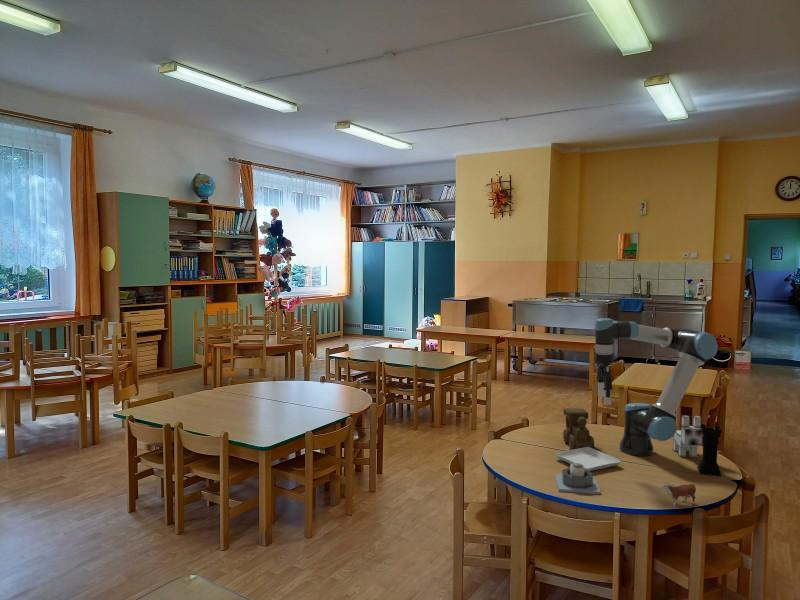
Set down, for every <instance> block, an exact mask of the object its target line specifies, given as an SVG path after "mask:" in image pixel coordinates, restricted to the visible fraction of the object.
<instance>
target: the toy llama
mask: <svg viewBox="0 0 800 600" xmlns="http://www.w3.org/2000/svg"><path fill="white" fill-rule="evenodd" d="M701 424H702V417H701V416H700V415H693V417H692V425H690V416H689V415H684V414H682V415H681V427H680V429H677V430H676V433H675V434H674V436H673V437H672V438H673V439H672V451H673V452H675V453H676V452H677V453H678V454H677V455H678V457H680V458H686V456H687V453H688V455H689V456H688V457H690V458H693V459H694V458H695V459H696V458H698V447H699V446H702V447H703V439H702V437H703V433H702V432H701V427H700V425H701Z"/></svg>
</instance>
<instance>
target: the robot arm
mask: <svg viewBox="0 0 800 600" xmlns="http://www.w3.org/2000/svg"><path fill="white" fill-rule="evenodd" d="M594 331H595V332H594V333H595V334H594V335H595V336H594V339H595V341H594V342H595V344H594V346H593V348H594V349H595V351H594V352H595V355H594V358H595V360H594V361H595V362H596V363H597V370H596V371H597V372H596V380H597V397H599V398H600V397H603V404H604V405H610V406H611V405H612V390H613V383H612V372H611V369H612V368H611V366H609V364H612V363H613V362H614V354H613V353H614V340H633V341H639V342H645V343H650V344H656V345H659V346H661V348H666V349H670V350H672V351H673V350H674V351H676V352H678V356H679V359H678V361H677V363H676V365H675V367H674V369H673V371H672V373H671V375H670V376H669V378H668V380H667V381H666V384H665V386H664V388H663V389H662V392H661V393H660V394H659V397H658V399H657V401H656V403H653V404H650V403H643V402H633V403H632V402H631V403H630V402H629V403H627V404H626V405H625V407H624V428H623V435H622V438H621V440H620V442H619V450H620V451H621V452H622V453H625V454H628V455H632V456H640V457H641V456H643V457H644V456H648V457H649V456H652V455H653V454H654V445H653V442H652V439H653V440H657V441H660V442H666V441H668V440H670V439H672V438H673V436H674V434H675V433H676V430H678V429H677V428H678V427H677V422H676V419H677V417H678V416H677V413H676V412H677V409H678V407H679V406H680V404H681V401H682V400H683V397H684V396H685V394H686V392H687V390H688V388H689V386H690V384H691V382H692V380H693V378H694V376H695V375H696V372H697V370H698V368H699V367H700V366H703V365H705V363H706V361H707V360H711V359H712V358H714V357H715V356H716V355H717V352H718V347H719V345H718V343H717V339H716V338H715V336H714V335H713V334H712V333H709V332H705V331H700V330H694V329H693V330H692V329H687V328H673V327H664V328H660V327H654V326H648V325H644V324H638V323H637V322H635V321H622V320H617V319H613V318H608V317H605V318H604V317H600V318H596V320H595V327H594Z"/></svg>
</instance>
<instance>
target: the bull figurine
mask: <svg viewBox="0 0 800 600" xmlns="http://www.w3.org/2000/svg"><path fill="white" fill-rule="evenodd" d="M660 489H661V490H662V491H663V490H664V491H665V492H667V493H668V495H669V496H670V497H671V498H672V499H673V500H672V501H671V503H672V502H673V504H672V506H673V505H675V506H676V505H677V501H678V500H679V497H680V498H681V497H682V500H681V501H682V502H683V503H685V502H686V501H687V499H690V498H691V499H692V500H691V502H690V504H691V505H694V504H695V499H696V496H695V494H696V491H697V488H696V486H695V484H693V483H691V484H674V483H669V482H667V481H666V482H665V483H664V484H663V485H662V486H661V487H660Z"/></svg>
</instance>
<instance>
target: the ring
mask: <svg viewBox="0 0 800 600" xmlns="http://www.w3.org/2000/svg"><path fill="white" fill-rule="evenodd" d="M561 474H562V481H563V484H565V485H567V486H570V487H572V488H584V489H585V488H588V487H591V486H593V477H594V475H593V473H592V471H587V470H584V477H575V476H572V475H570V467H567V468H565V469H562V471H561Z"/></svg>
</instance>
